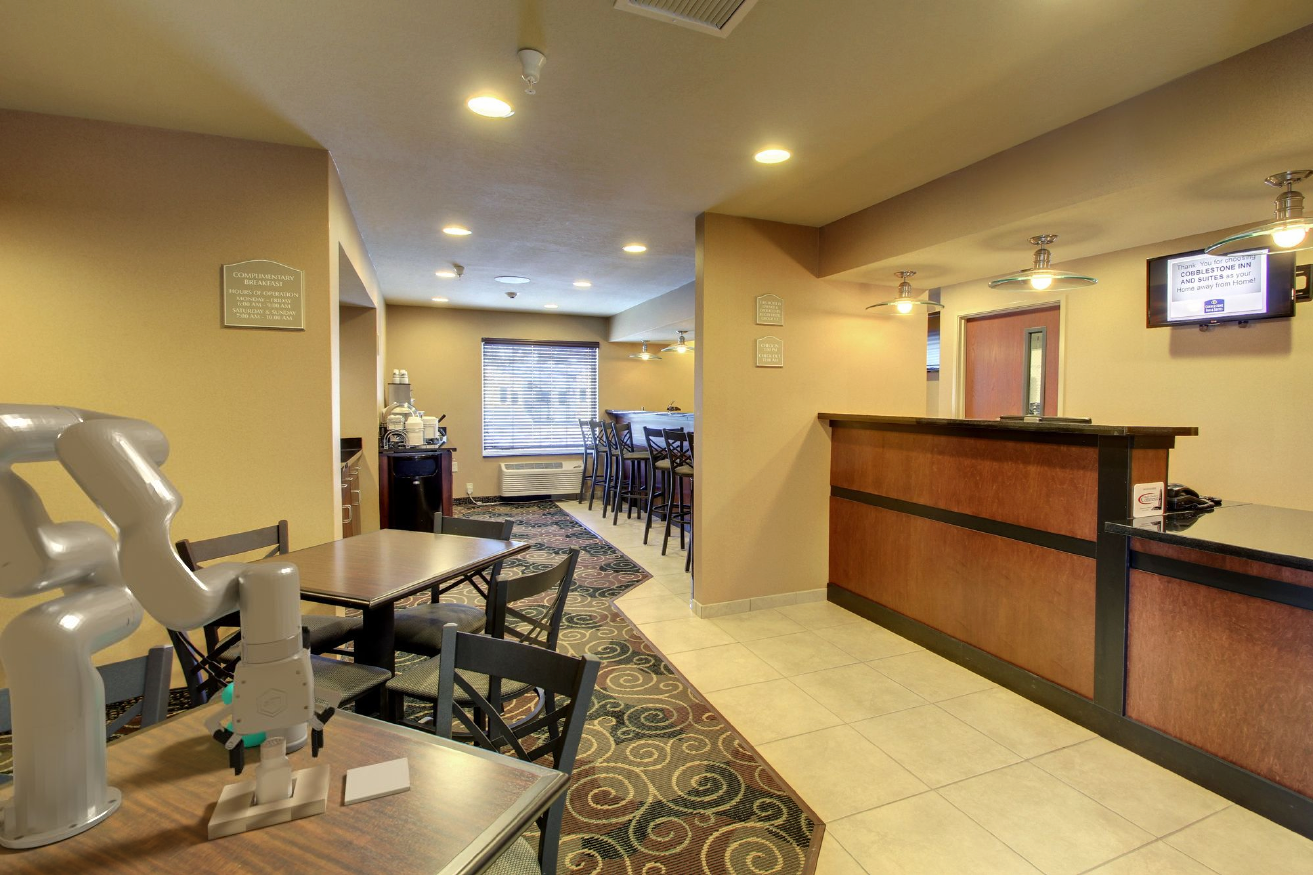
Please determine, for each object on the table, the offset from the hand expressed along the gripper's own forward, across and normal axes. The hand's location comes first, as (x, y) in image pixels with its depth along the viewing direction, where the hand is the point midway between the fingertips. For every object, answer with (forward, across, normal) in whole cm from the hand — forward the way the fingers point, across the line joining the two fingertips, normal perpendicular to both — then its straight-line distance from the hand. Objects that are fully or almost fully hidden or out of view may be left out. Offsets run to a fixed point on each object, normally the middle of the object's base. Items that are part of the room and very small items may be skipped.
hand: (278, 761), depth 90 cm
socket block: (+6, -1, 0) cm, 7 cm away
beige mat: (+7, +13, 0) cm, 15 cm away
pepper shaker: (+7, -1, 0) cm, 7 cm away
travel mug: (+6, -1, +19) cm, 20 cm away
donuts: (+6, -7, +25) cm, 27 cm away
